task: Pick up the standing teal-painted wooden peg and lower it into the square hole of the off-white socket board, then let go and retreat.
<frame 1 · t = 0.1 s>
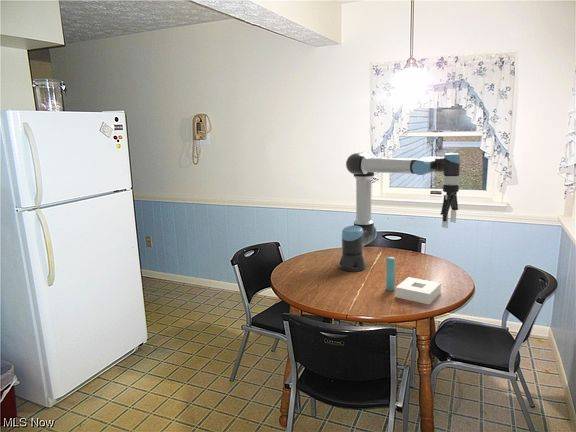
hand: (449, 224, 220), 28 cm above the table, fingers open, 13 cm apart
socket board: (418, 295, 201), on the table
peg: (390, 289, 210), on the table
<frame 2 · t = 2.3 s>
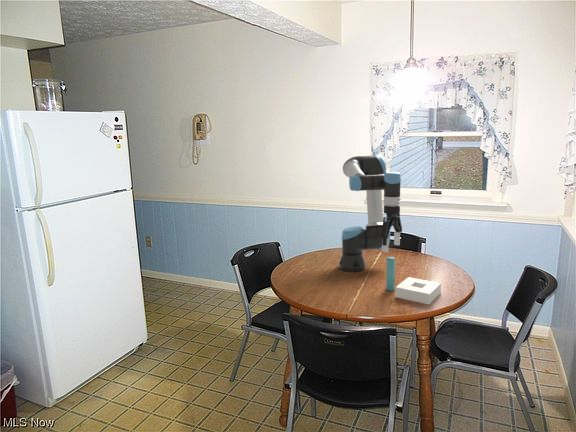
hand: (391, 248, 205), 21 cm above the table, fingers open, 13 cm apart
nothing on the table moved.
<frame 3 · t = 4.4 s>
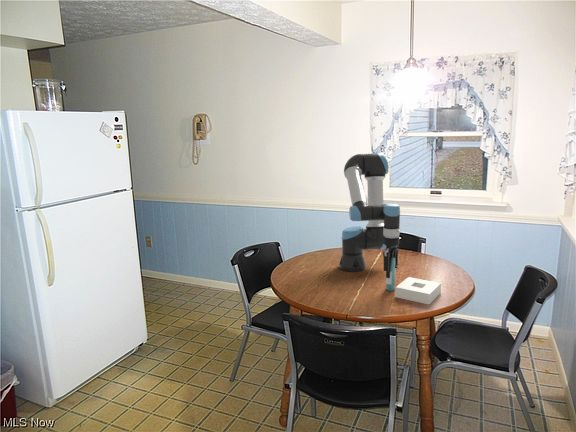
hand: (390, 282, 209), 4 cm above the table, fingers closed on peg, 4 cm apart
peg: (390, 289, 210), on the table, touching gripper
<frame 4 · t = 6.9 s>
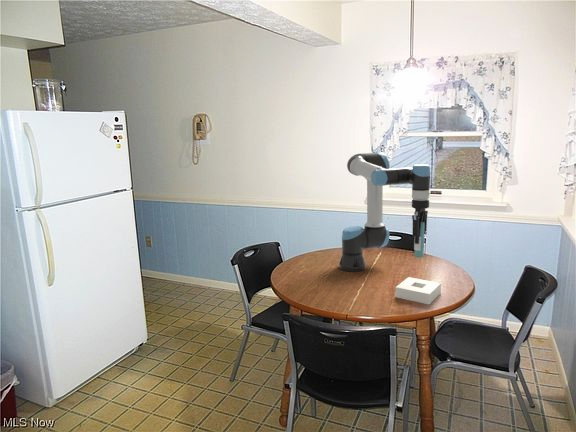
hand: (419, 248, 197), 23 cm above the table, fingers closed on peg, 4 cm apart
peg: (419, 256, 197), point 19 cm above the table, touching gripper
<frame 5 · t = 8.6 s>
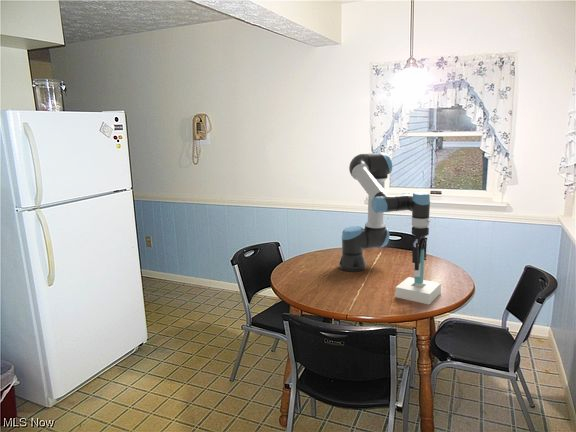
hand: (418, 274, 199), 10 cm above the table, fingers closed on peg, 4 cm apart
peg: (418, 282, 200), point 7 cm above the table, touching gripper
when the fingers open (6 cm above the table, at t = 9.6 s): peg drops 2 cm, resting in socket board.
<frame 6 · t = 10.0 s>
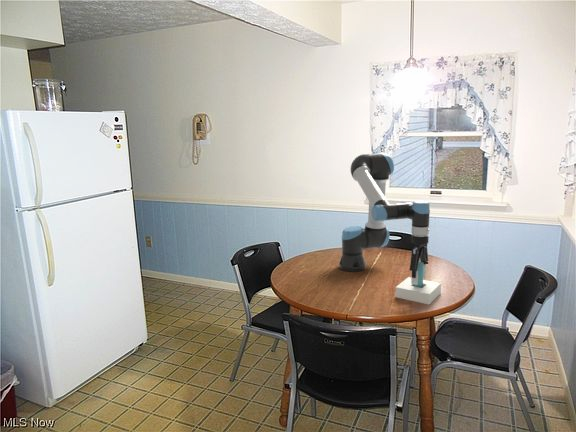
hand: (418, 280, 200), 7 cm above the table, fingers open, 10 cm apart
peg: (418, 295, 201), resting in socket board
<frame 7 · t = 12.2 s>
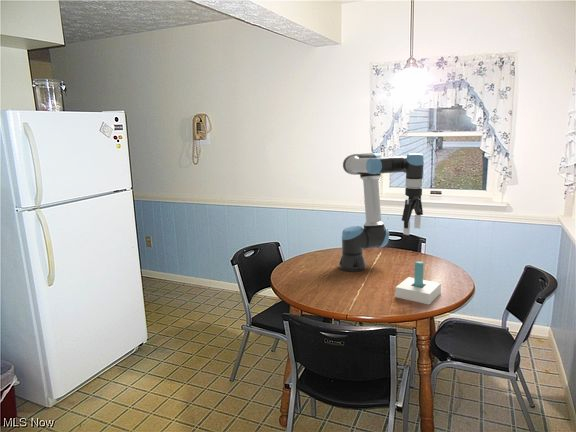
hand: (411, 231, 203), 29 cm above the table, fingers open, 13 cm apart
nothing on the table moved.
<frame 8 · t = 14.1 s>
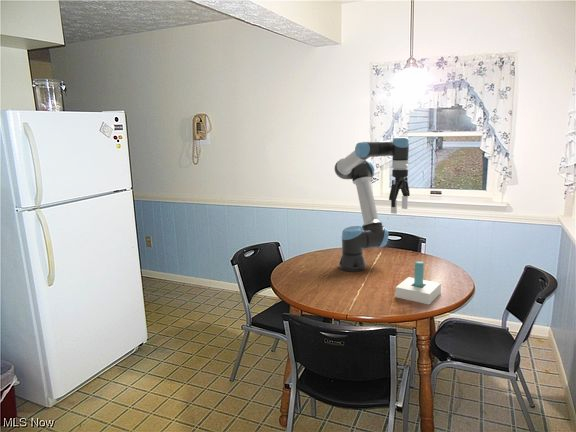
hand: (399, 211, 214), 37 cm above the table, fingers open, 13 cm apart
nothing on the table moved.
at the end: peg 0.0 cm off-centre on the socket board, point 0.0 cm above the socket board's base; peg tilted 0°; the gripper is holding nothing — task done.
